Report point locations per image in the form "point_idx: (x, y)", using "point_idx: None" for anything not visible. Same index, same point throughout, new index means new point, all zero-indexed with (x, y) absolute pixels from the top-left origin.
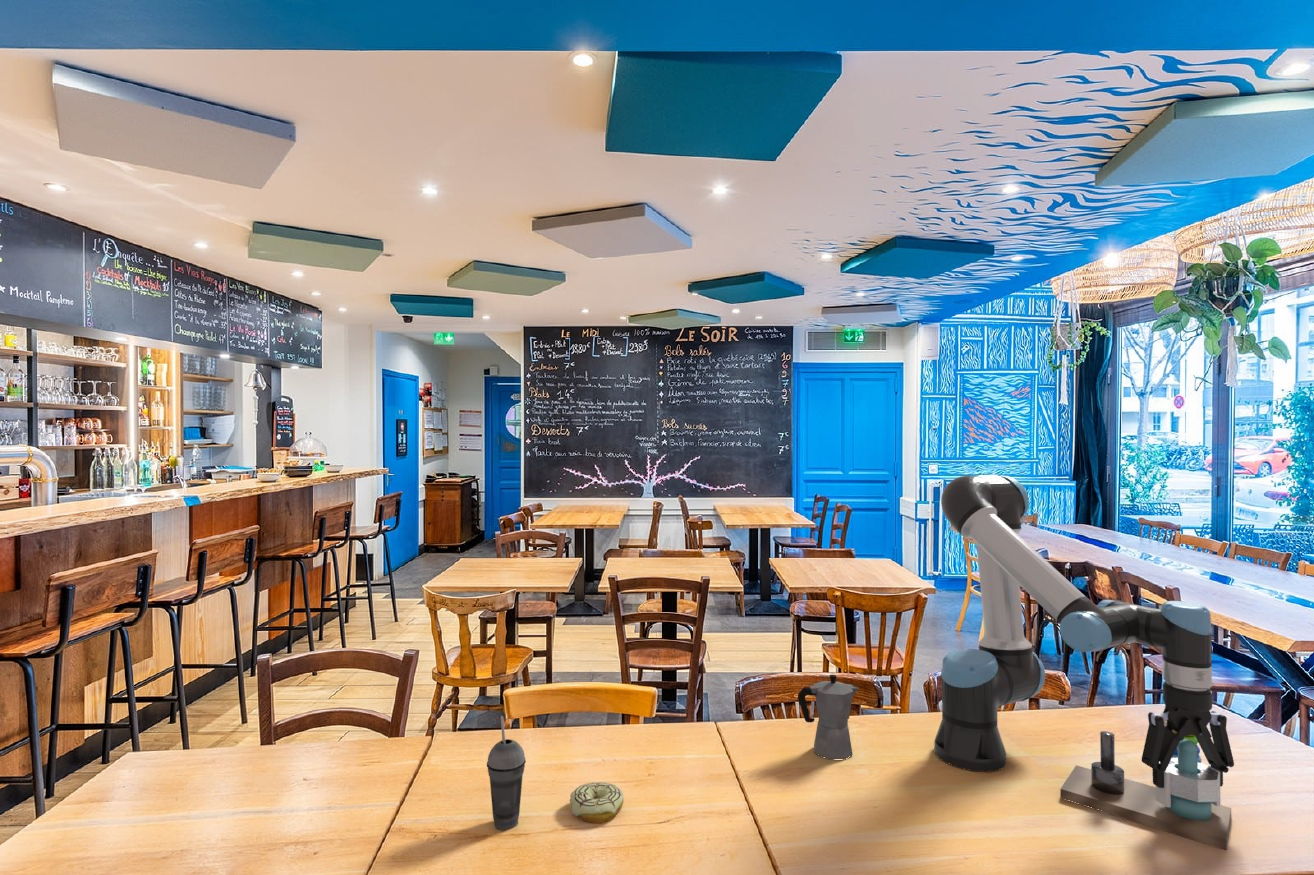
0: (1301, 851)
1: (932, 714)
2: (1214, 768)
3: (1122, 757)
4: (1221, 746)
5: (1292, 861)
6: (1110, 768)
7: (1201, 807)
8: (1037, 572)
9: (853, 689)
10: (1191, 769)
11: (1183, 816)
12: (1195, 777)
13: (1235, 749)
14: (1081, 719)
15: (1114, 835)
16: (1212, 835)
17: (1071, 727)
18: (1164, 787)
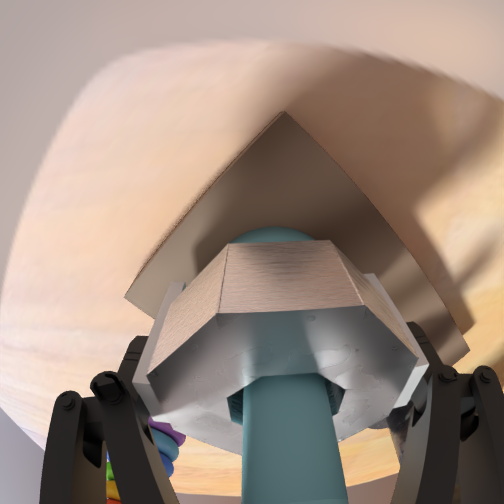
0: (64, 129)
1: (388, 474)
2: (142, 403)
3: (215, 449)
4: (81, 493)
5: (122, 69)
6: (409, 405)
7: None
8: None
9: None
10: (303, 398)
11: None
12: (342, 337)
13: (48, 424)
14: (206, 487)
15: (491, 209)
16: (313, 139)
17: (234, 482)
18: None
